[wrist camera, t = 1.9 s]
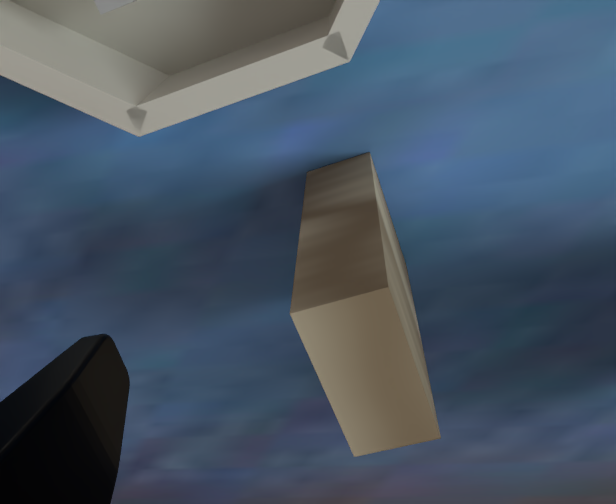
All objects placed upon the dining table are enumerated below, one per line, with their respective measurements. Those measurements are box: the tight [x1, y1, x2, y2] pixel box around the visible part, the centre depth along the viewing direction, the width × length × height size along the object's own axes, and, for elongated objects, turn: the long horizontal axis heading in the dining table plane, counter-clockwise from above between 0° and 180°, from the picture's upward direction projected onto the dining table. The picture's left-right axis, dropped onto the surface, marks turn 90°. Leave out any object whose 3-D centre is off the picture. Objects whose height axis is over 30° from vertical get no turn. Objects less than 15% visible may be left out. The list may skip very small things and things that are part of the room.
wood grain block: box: [290, 152, 441, 457], centre depth 19 cm, size 2×5×9 cm, turn 19°
